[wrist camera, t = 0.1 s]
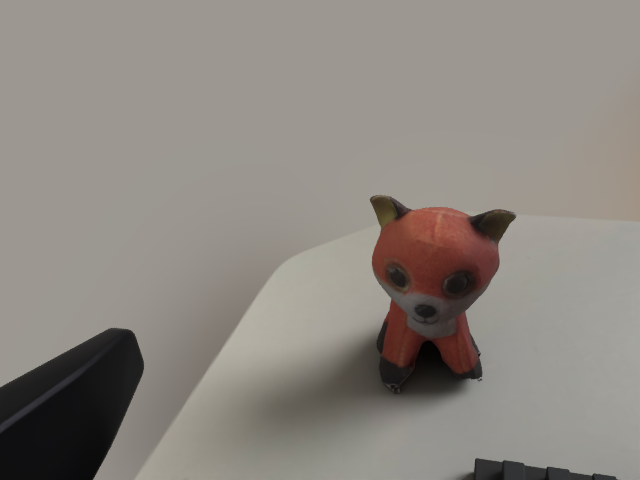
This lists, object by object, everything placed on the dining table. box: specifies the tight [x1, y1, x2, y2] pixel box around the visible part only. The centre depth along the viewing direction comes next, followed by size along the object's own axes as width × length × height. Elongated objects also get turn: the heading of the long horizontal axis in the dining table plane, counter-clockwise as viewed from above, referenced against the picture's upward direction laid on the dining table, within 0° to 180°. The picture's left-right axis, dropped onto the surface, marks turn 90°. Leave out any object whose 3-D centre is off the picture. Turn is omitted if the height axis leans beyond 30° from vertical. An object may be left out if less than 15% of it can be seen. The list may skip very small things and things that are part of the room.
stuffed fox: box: [370, 195, 516, 394], centre depth 34 cm, size 8×11×12 cm
